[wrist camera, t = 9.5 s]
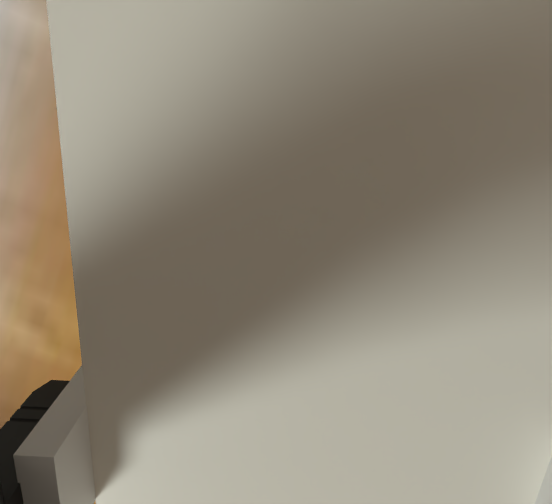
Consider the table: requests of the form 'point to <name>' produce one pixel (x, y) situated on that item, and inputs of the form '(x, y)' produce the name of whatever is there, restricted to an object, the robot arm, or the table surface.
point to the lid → (310, 247)
